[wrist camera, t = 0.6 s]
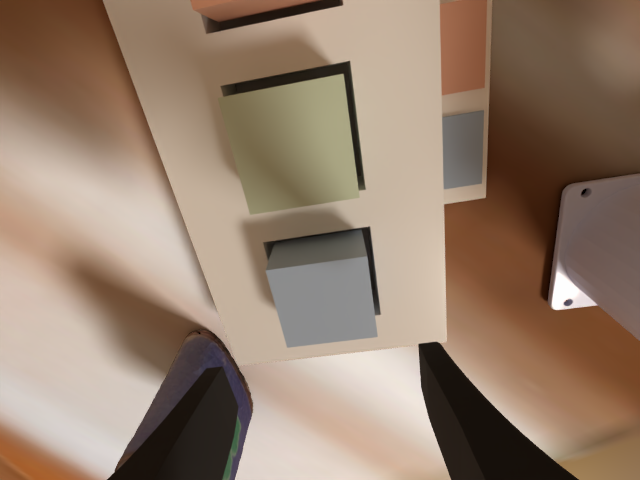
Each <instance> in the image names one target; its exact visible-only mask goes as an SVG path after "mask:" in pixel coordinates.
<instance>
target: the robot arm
mask: <svg viewBox="0 0 640 480" xmlns="http://www.w3.org/2000/svg"><path fill="white" fill-rule="evenodd" d="M584 189H586V192H585V193H584V194H583V195H581V192H582V191H583V190H584ZM567 299H568V300H567ZM566 300H567V301H566ZM565 301H566V302H565ZM548 304H549V306H550V307H551V308H552V309H554V310H561V309H570V308H578V307H586V306H594V305H598V306H600V307H601V308H602V309H603V310H604V311H605V312H607V313H608V314H609V315H610V316H611V317H612V318H614V319H615V320H616V321H617V322H618V323H619V324H621V325H622V326H623V327H624V328H625V329H626V330H628V331H629V332H630V333H631V334H632V335H634V336H635V337H636V338H637V339H638V340H639V341H640V173H638V174H632V175H625V176H619V177H612V178H605V179H599V180H592V181H586V182H579V183H573V184H570V185H568V186H567V187H565V189H564V190H563V192H562V197H561V204H560V212H559V220H558V227H557V235H556V242H555V250H554V258H553V265H552V273H551V280H550V288H549V296H548ZM418 345H419V360H420V375H421V388H422V392H423V396H424V400H425V404H426V408H427V412H428V416H429V419H430V422H431V425H432V428H433V431H434V433H435V436H436V439H437V442H438V444H439V447H440V450H441V453H442V455H443V458H444V461H445V464H446V466H447V469H448V472H449V475H450V477H451V480H578V479H577V478H576V477H574V476H573V475H572V474H571V473H569V472H568V471H567V470H565V469H564V468H563V467H561V466H560V465H559V464H558V463H556V462H555V461H554V460H553V459H552V458H550V457H549V456H548V455H547V454H545V453H544V452H543V451H542V450H541V449H539V448H538V447H537V446H536V445H535V444H534V443H533V442H531V441H530V440H529V439H528V438H527V437H526V436H525V435H523V434H522V433H521V432H520V431H519V430H518V429H517V428H516V427H515V426H514V425H513V424H511V423H510V422H509V421H508V420H507V419H506V418H505V417H504V416H503V415H502V414H501V413H500V412H499V411H498V410H497V409H496V408H495V407H494V406H493V405H492V404H491V403H490V402H489V401H488V400H487V399H486V398H485V397H484V396H483V394H482V393H481V392H480V391H479V390H478V389H477V388H476V387H475V386H474V385H473V384H472V382H471V381H470V380H469V379H468V378H467V377H466V376H465V375H464V373H463V372H462V371H461V370H460V369H459V367H458V366H457V365H456V364H455V363H454V361H453V360H452V359H451V357H450V356H449V355H448V354H447V352H446V351H445V350H444V348H443V347H442V345H441V344H440V343H438V342H429V343H420V344H418ZM238 407H239V406H238V404H237V401H236V398H235V396H234V393H233V391H232V388H231V386H230V383H229V381H228V378H227V376H226V373H225V371H224V368H223V366H221V367H212V368H206V369H205V370H204V372H203V373H202V374H201V375H200V376H199V378H198V379H197V380H196V381H195V382H194V384H193V385H192V386H191V387H190V389H189V390H188V391H187V392H186V394H185V395H184V396H183V397H182V399H181V400H180V401H179V402H178V403H177V405H176V406H175V407H174V408H173V409H172V411H171V412H170V413H169V414H168V415H167V417H166V418H165V419H164V420H163V421H162V422H161V424H160V425H159V426H158V427H157V428H156V429H155V430H154V431H153V432H152V434H151V435H150V436H149V437H148V438H147V439H146V440H145V441H144V442H143V444H142V445H141V446H140V447H139V448H138V449H137V450H136V451H135V452H134V453H133V454H132V455H131V457H130V458H129V459H128V460H127V461H126V462H125V463H124V464H123V465H122V466H121V467H120V468H119V469H118V470H117V471H116V472H115V473H113V474H112V475H111V476H110V477H109V478H108V479H107V480H222V479H223V475H224V472H225V468H226V465H227V461H228V457H229V454H230V450H231V446H232V443H233V439H234V434H235V428H236V422H237V414H238Z"/></svg>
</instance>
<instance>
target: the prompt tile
mask: <svg viewBox="0 0 640 480" xmlns="http://www.w3.org/2000/svg"><path fill="white" fill-rule="evenodd" d="M491 29H492V0H440V43H441V91H442V138H443V186H444V204H448V203H455V202H462V201H468V200H475V199H481V198H486V177H487V148H488V118H489V88H490V58H491Z"/></svg>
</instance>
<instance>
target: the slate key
mask: <svg viewBox="0 0 640 480" xmlns="http://www.w3.org/2000/svg"><path fill="white" fill-rule="evenodd" d="M266 274H267V277H268V281H269V285H270V288H271V292H272V295H273V299H274V302H275V306H276V310H277V313H278V317H279V320H280V324H281V328H282V331H283V335H284V338H285V342H286V346H287V348H290V347H298V346H307V345H315V344H323V343H332V342H340V341H349V340H357V339H365V338H374V337H378V335H377V327H376V319H375V312H374V304H373V296H372V289H371V281H370V273H369V266H368V258H367V253H366V248H365V243H364V239H363V234H362V229H360V230H353V231H346V232H340V233H333V234H326V235H320V236H313V237H306V238H299V239H293V240H286V241H279V242H275V243H274V246H273V249H272V252H271V255H270V258H269V261H268V265H267V268H266Z"/></svg>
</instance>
